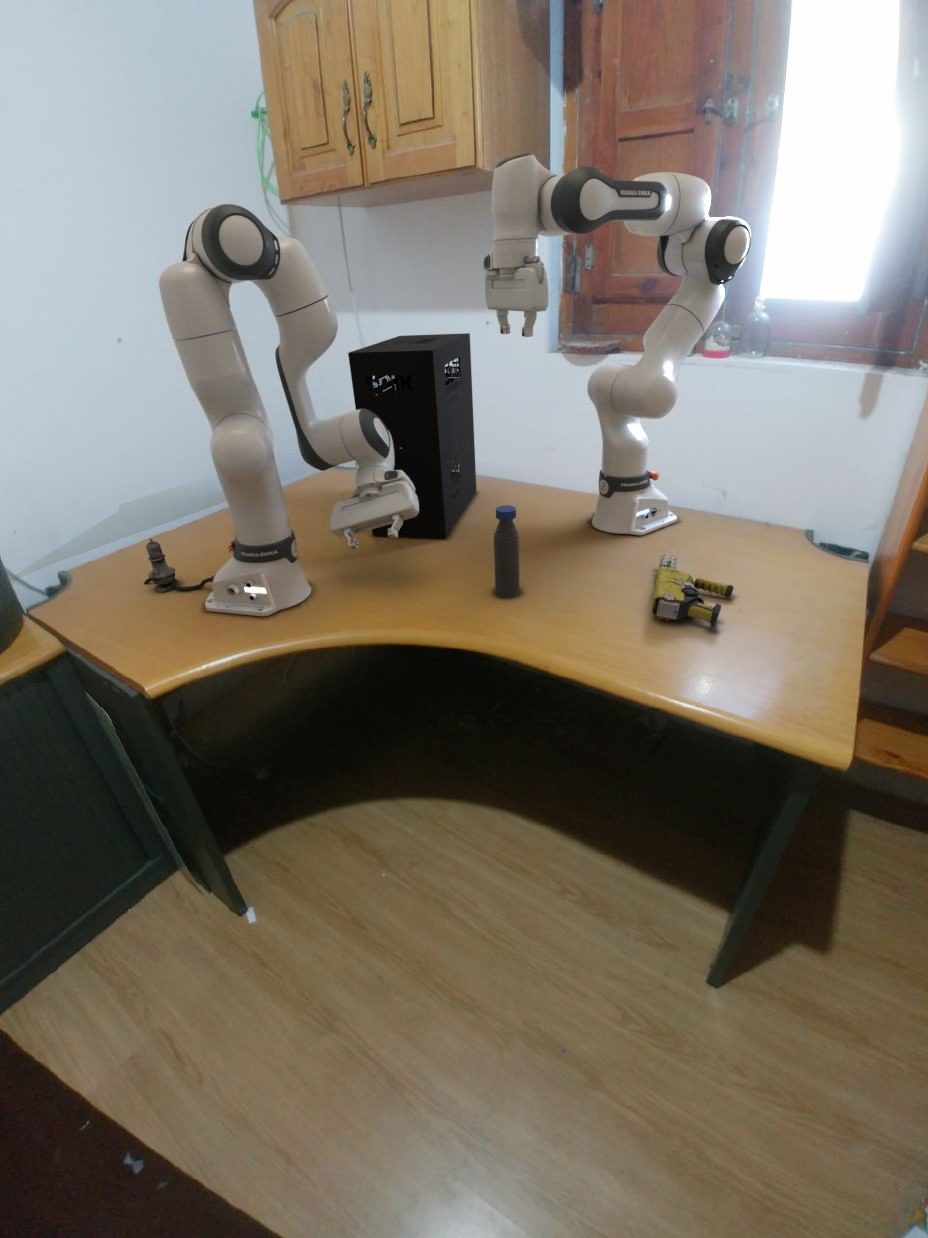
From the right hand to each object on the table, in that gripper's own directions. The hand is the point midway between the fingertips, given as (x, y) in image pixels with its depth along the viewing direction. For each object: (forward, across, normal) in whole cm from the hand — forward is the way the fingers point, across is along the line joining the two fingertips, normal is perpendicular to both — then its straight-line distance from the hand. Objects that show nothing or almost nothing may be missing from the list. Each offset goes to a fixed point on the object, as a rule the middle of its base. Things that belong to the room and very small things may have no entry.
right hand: (516, 335), depth 125 cm
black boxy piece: (+48, +36, +9) cm, 61 cm away
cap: (+30, -19, +13) cm, 38 cm away
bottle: (+48, -19, +13) cm, 53 cm away
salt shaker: (+48, +23, +80) cm, 96 cm away
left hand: (+36, -6, +38) cm, 52 cm away
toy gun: (+48, -41, -18) cm, 66 cm away
